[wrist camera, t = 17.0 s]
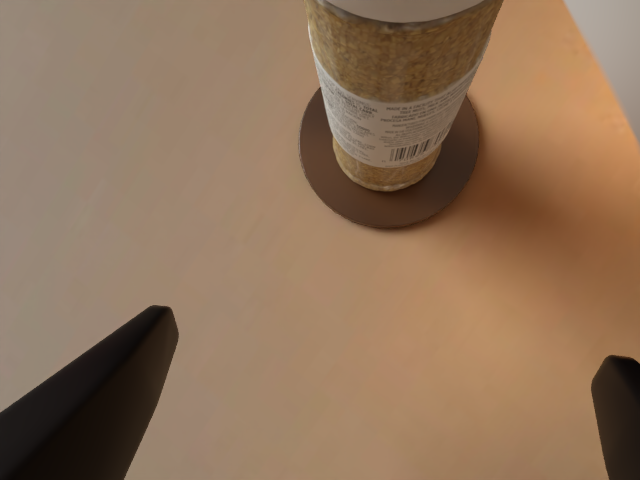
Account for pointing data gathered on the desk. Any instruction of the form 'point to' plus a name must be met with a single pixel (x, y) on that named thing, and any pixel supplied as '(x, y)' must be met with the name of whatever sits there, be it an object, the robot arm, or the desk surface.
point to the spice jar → (395, 79)
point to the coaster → (387, 205)
